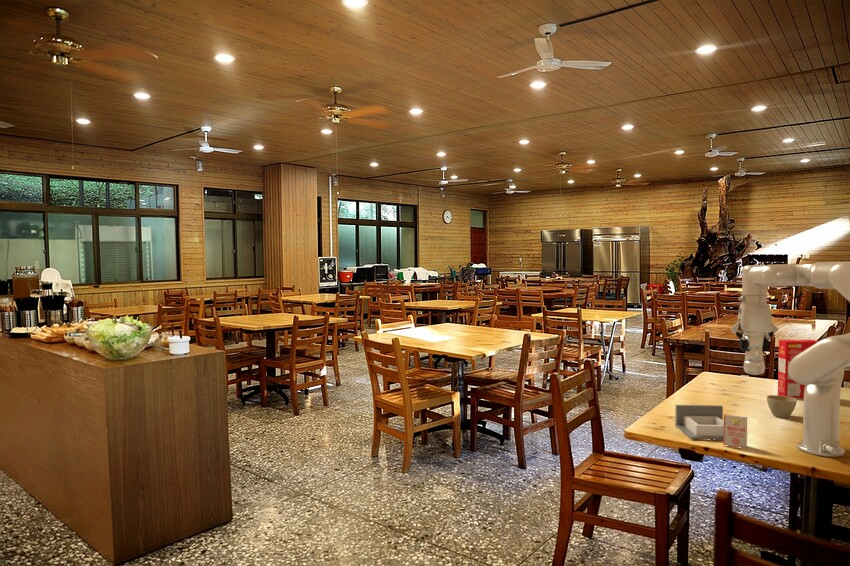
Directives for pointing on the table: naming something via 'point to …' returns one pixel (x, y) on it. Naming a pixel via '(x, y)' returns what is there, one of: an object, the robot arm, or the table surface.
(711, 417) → the housing
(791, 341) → the food packaging
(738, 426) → the beige printed carton
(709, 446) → the table surface
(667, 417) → the table surface
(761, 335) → the plastic bottle
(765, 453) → the table surface
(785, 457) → the table surface
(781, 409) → the flower pot
